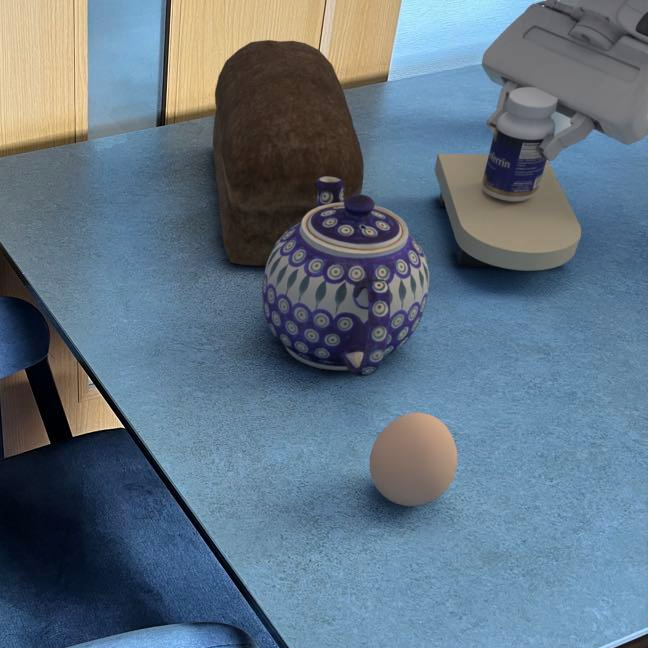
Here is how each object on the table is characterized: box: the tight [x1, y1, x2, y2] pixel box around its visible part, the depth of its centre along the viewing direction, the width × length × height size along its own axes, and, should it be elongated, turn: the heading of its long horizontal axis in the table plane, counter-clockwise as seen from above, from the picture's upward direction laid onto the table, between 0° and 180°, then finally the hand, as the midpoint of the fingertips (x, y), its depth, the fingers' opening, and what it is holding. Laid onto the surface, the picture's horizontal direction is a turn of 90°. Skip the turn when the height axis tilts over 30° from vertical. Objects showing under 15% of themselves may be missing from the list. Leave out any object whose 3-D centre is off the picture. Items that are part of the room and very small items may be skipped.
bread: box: [212, 39, 365, 267], centre depth 114 cm, size 15×32×16 cm, turn 178°
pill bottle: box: [482, 87, 558, 201], centre depth 106 cm, size 6×6×10 cm
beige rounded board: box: [434, 153, 582, 272], centre depth 110 cm, size 22×12×5 cm, turn 175°
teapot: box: [261, 176, 430, 377], centre depth 94 cm, size 25×15×15 cm, turn 179°
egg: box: [368, 412, 458, 507], centre depth 81 cm, size 7×7×8 cm
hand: (517, 142), depth 105 cm, fingers closed on pill bottle, 6 cm apart
